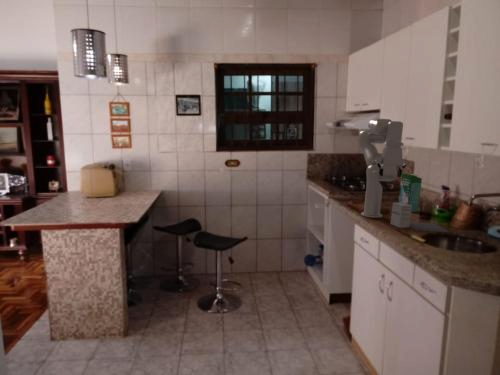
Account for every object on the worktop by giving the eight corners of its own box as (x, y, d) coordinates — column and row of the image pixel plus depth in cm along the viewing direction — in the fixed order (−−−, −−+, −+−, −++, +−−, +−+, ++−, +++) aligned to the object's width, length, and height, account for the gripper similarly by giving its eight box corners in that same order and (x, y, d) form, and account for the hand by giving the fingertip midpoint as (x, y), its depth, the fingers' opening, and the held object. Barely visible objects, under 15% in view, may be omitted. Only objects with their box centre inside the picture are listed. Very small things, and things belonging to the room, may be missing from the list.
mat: (402, 222, 211) (402, 221, 211) (433, 224, 211) (433, 223, 211) (415, 230, 194) (415, 230, 194) (449, 232, 193) (449, 231, 193)
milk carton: (417, 211, 245) (422, 174, 241) (407, 212, 242) (412, 174, 238) (407, 208, 253) (411, 173, 250) (397, 209, 250) (401, 173, 246)
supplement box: (389, 224, 205) (392, 202, 203) (400, 223, 207) (403, 202, 205) (398, 227, 198) (401, 205, 196) (409, 227, 200) (412, 205, 198)
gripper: (406, 145, 198) (403, 176, 201) (375, 143, 199) (371, 174, 201) (412, 145, 191) (408, 178, 193) (379, 144, 191) (376, 176, 194)
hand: (389, 176), depth 197 cm, fingers open, 9 cm apart
